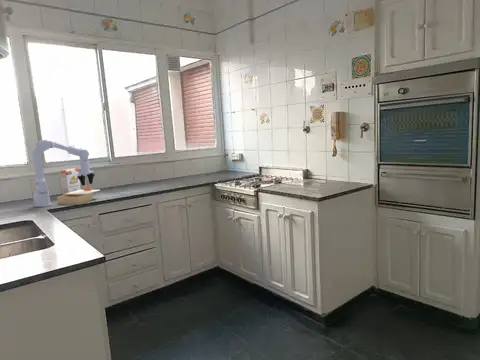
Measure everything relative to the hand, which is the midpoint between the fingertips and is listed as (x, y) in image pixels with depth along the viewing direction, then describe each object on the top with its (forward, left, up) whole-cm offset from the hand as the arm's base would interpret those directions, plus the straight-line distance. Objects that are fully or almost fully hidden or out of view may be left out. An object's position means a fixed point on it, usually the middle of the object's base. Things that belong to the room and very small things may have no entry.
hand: (87, 184), depth 243 cm
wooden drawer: (0, -13, -10) cm, 16 cm away
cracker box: (-22, +8, -10) cm, 26 cm away
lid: (0, -5, -5) cm, 7 cm away
